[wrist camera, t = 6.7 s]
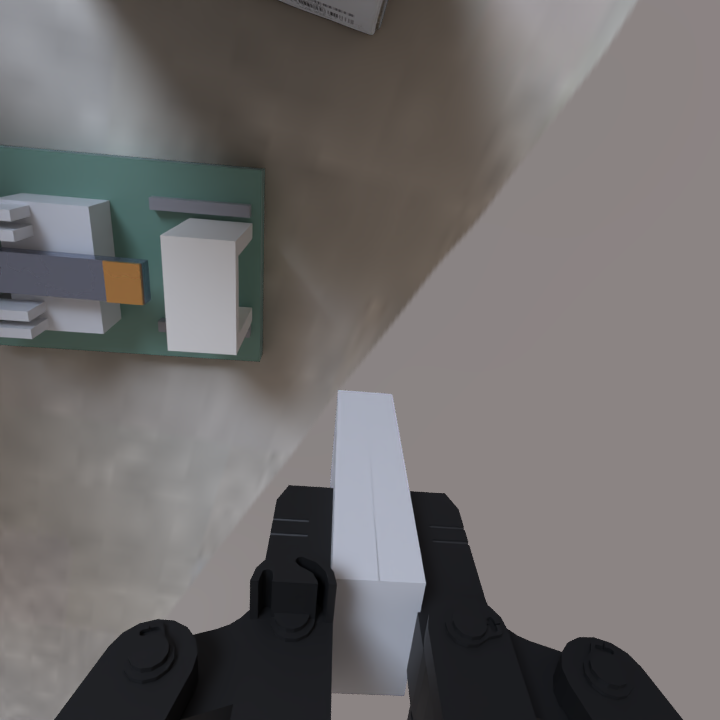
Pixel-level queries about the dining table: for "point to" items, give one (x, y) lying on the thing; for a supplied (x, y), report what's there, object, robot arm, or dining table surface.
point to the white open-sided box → (204, 286)
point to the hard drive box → (346, 12)
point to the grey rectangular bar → (74, 276)
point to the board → (119, 241)
